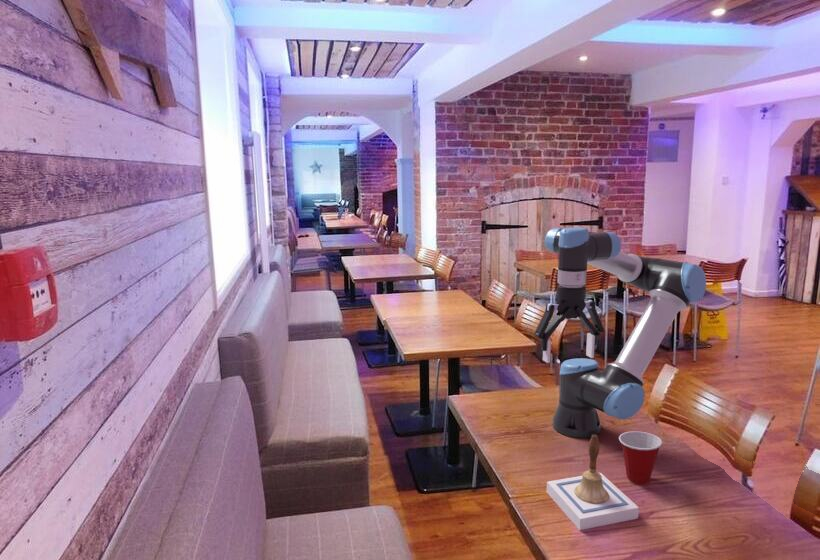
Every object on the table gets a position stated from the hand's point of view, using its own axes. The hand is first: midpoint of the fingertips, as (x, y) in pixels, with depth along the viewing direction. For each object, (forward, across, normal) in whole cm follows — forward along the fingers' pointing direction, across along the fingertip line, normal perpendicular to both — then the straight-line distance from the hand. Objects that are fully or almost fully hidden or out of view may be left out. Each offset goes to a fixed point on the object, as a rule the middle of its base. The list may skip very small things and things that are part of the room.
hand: (568, 359), depth 150 cm
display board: (+32, -4, -20) cm, 38 cm away
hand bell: (+29, -4, -20) cm, 35 cm away
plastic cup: (+32, +15, -13) cm, 38 cm away
